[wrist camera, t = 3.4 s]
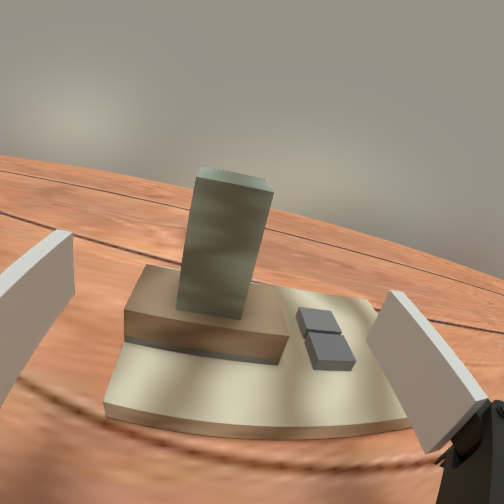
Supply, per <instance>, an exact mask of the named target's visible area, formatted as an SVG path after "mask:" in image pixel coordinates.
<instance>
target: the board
mask: <svg viewBox="0 0 504 504" xmlns="http://www.w3.org/2000/svg"><path fill="white" fill-rule="evenodd" d="M157 266H158V265H157ZM159 267H163V266H159ZM164 268H168V267H164ZM169 269H173V268H169ZM175 270H179V269H175ZM180 271H181V270H180ZM250 283H253V282H250ZM255 284H259V283H255ZM261 285H265V284H261ZM267 286H271V285H267ZM273 287H276V290H277V294H278V297H279V301H280V304H281V307H282V311H283V314H284V318H285V321H286V325H287V328H288V332H289V335H290V337H289V339H288V342H287V344H286V347H285V349H284V352H283V354H282V357H281V359H280V362H279V364H278V366H277V365H266V364H256V363H247V362H238V361H230V360H223V359H215V358H208V357H202V356H195V355H189V354H183V353H177V352H172V351H166V350H161V349H156V348H151V347H146V346H141V345H137V344H132V343H128V342H124V345H123V347H122V350H121V352H120V355H119V358H118V360H117V363H116V366H115V369H114V371H113V374H112V377H111V380H110V383H109V385H108V388H107V391H106V394H105V397H104V400H103V404H104V408H105V413H106V417H110V418H114V419H118V420H122V421H126V422H130V423H134V424H139V425H144V426H149V427H154V428H159V429H165V430H171V431H177V432H183V433H190V434H198V435H207V436H216V437H227V438H241V439H263V440H304V439H326V438H339V437H350V436H360V435H368V434H376V433H382V432H389V431H395V430H401V429H406V428H411V427H412V426H411V424H410V422H409V420H408V418H407V416H406V414H405V412H404V410H403V408H402V406H401V404H400V402H399V400H398V398H397V397H396V395H395V393H394V391H393V389H392V387H391V385H390V383H389V382H388V380H387V378H386V376H385V374H384V372H383V370H382V369H381V367H380V365H379V363H378V361H377V360H376V358H375V356H374V354H373V352H372V351H371V349H370V347H369V345H368V343H367V342H366V338H367V336H368V334H369V332H370V330H371V328H372V326H373V324H374V322H375V320H376V318H377V316H378V314H377V313H376V312H375V310H374V309H373V307H372V306H371V305H370V303H369V302H368V300H366V299H358V298H351V297H344V296H337V295H330V294H323V293H317V292H310V291H303V290H297V289H290V288H284V287H278V286H273ZM299 307H305V308H313V309H321V310H329V311H331V312H332V313H333V315H334V317H335V319H336V321H337V323H338V325H339V327H340V329H341V331H342V333H341V335H344V337H345V339H346V341H347V343H348V345H349V347H350V349H351V351H352V353H353V355H354V357H355V359H356V363H355V365H354V367H353V368H352V370H351V371H327V370H313V367H312V364H311V361H310V358H309V355H308V352H307V349H306V346H305V343H304V341H305V339H303V337H302V335H301V332H300V329H299V326H298V323H297V320H296V317H295V316H296V313H297V310H298V308H299Z"/></svg>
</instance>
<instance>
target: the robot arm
mask: <svg viewBox="0 0 504 504" xmlns="http://www.w3.org/2000/svg"><path fill="white" fill-rule="evenodd" d="M74 294H75V284H74V267H73V232H68V231H63V230H58V229H57V230H55V231H54V232H53V233H51V234H50V235H49V236H47V237H46V238H45V239H43V240H42V241H41V242H39V243H38V244H37V245H35V246H34V247H33V248H32V249H30V250H29V251H28V252H26V253H25V254H24V255H23V256H22V257H20V258H19V259H18V260H17V261H15V262H14V263H13V264H12V265H11V266H9V267H8V268H7V269H6V270H5V271H4V272H2V273H1V274H0V408H1V406H2V404H3V402H4V401H5V399H6V397H7V395H8V393H9V392H10V390H11V388H12V386H13V385H14V383H15V381H16V380H17V378H18V376H19V375H20V373H21V371H22V370H23V368H24V366H25V365H26V363H27V362H28V360H29V358H30V357H31V355H32V354H33V352H34V351H35V349H36V348H37V346H38V345H39V343H40V342H41V340H42V339H43V337H44V336H45V334H46V333H47V331H48V330H49V328H50V327H51V326H52V324H53V323H54V321H55V320H56V319H57V317H58V316H59V314H60V313H61V312H62V310H63V309H64V308H65V306H66V305H67V304H68V302H69V301H70V300H71V298H72V297H73V296H74ZM366 342H367V343H368V345H369V347H370V349H371V351H372V352H373V354H374V356H375V358H376V360H377V361H378V363H379V365H380V367H381V369H382V370H383V372H384V374H385V376H386V378H387V380H388V382H389V383H390V385H391V387H392V389H393V391H394V393H395V395H396V397H397V398H398V400H399V402H400V404H401V406H402V408H403V410H404V412H405V414H406V416H407V418H408V420H409V422H410V424H411V426H412V428H413V430H414V432H415V434H416V436H417V438H418V440H419V442H420V444H421V446H422V448H423V450H424V452H425V454H428V453H431V452H435V451H438V450H440V449H441V448H442V447H443V446H444V445H445V444H446V443H447V442H448V441H449V440H450V439H451V441H452V443H453V445H452V446H451V447H450V448H449V449H448V450H447V451H446V452H444V453H443V454H442V455H441V456H440V457H439V458H438V459H437V460H436V461H435V463H434V464H436V465H437V464H438V463H439V462H440V461H441V460H443V459H446V460H445V461H444V462H443V463H442V464H441V465H440V466H441V467H443V468H444V471H443V476H442V480H441V485H440V489H439V493H438V497H437V501H436V504H504V402H503V401H500V400H494V401H493V402H492V403H491V402H490V400H489V399H488V397H487V395H486V394H485V392H484V391H483V390H482V388H481V387H480V386H479V384H478V383H477V382H476V380H475V379H474V378H473V376H472V375H471V374H470V372H469V371H468V370H467V368H466V367H465V366H464V364H463V363H462V362H461V361H460V359H459V358H458V357H457V355H456V354H455V353H454V352H453V350H452V349H451V348H450V347H449V345H448V344H447V343H446V342H445V341H444V339H443V338H442V337H441V336H440V334H439V333H438V332H437V331H436V330H435V328H434V327H433V326H432V325H431V324H430V323H429V321H428V320H427V319H426V318H425V317H424V316H423V314H422V313H421V312H420V311H419V310H418V309H417V307H416V306H415V305H414V304H413V303H412V302H411V301H410V300H409V298H408V297H407V296H406V295H405V294H404V293H403V292H400V291H393V290H390V291H389V293H388V295H387V297H386V299H385V302H384V304H383V306H382V308H381V310H380V312H379V314H378V316H377V318H376V320H375V322H374V324H373V326H372V328H371V330H370V332H369V334H368V336H367V338H366Z"/></svg>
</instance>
